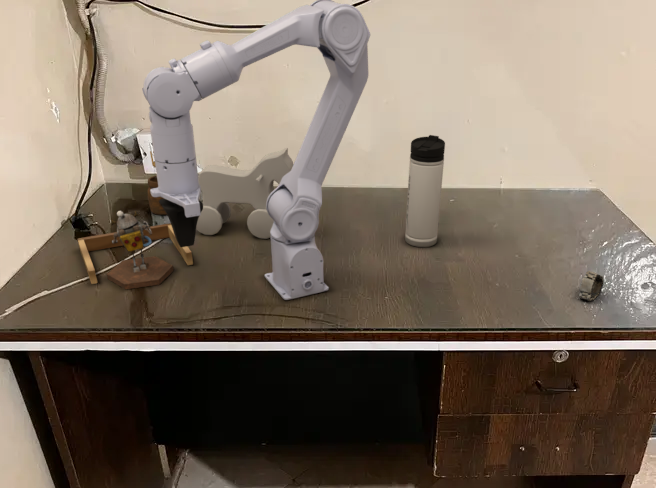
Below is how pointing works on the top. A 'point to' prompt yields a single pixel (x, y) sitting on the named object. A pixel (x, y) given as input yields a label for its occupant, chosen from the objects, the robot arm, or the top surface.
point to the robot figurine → (139, 269)
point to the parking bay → (106, 242)
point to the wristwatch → (591, 286)
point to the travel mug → (424, 190)
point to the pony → (241, 193)
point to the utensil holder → (154, 201)
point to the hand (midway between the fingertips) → (186, 244)
